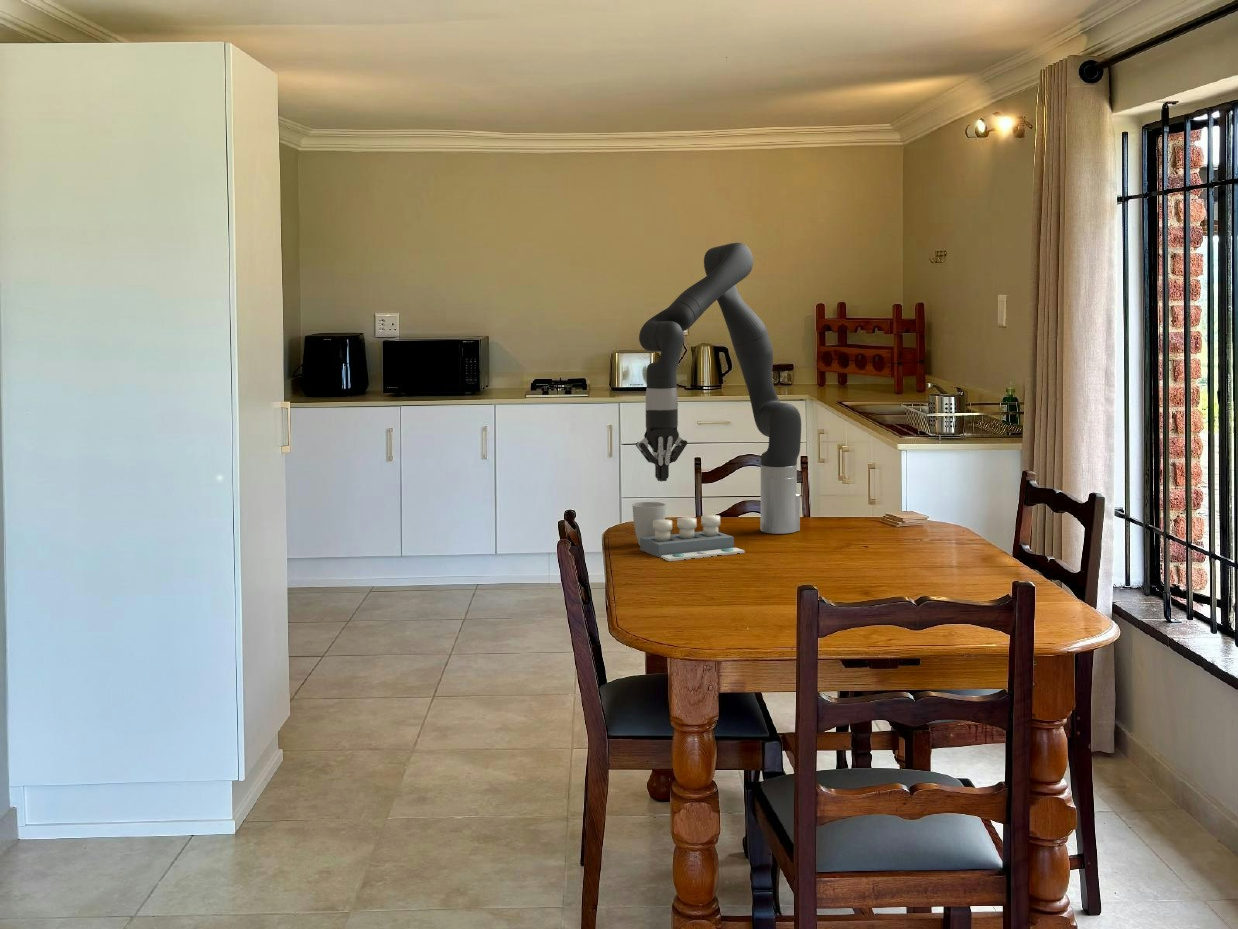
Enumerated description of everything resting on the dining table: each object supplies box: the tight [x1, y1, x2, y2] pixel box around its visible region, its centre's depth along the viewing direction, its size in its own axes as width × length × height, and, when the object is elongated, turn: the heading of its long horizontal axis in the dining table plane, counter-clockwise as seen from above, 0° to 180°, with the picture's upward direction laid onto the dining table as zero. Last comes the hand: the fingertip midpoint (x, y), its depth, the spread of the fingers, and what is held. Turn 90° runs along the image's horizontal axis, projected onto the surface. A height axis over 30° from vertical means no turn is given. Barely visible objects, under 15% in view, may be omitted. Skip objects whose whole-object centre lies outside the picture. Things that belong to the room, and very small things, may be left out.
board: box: [639, 530, 735, 558], centre depth 281 cm, size 20×10×3 cm, turn 115°
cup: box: [632, 501, 667, 546], centre depth 288 cm, size 8×8×10 cm
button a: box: [700, 514, 721, 537], centre depth 284 cm, size 5×5×5 cm
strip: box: [660, 547, 746, 562], centre depth 274 cm, size 20×4×1 cm, turn 115°
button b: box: [676, 516, 698, 539], centre depth 281 cm, size 5×5×5 cm
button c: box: [653, 518, 673, 542], centre depth 278 cm, size 5×5×5 cm
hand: (661, 480), depth 277 cm, fingers closed
